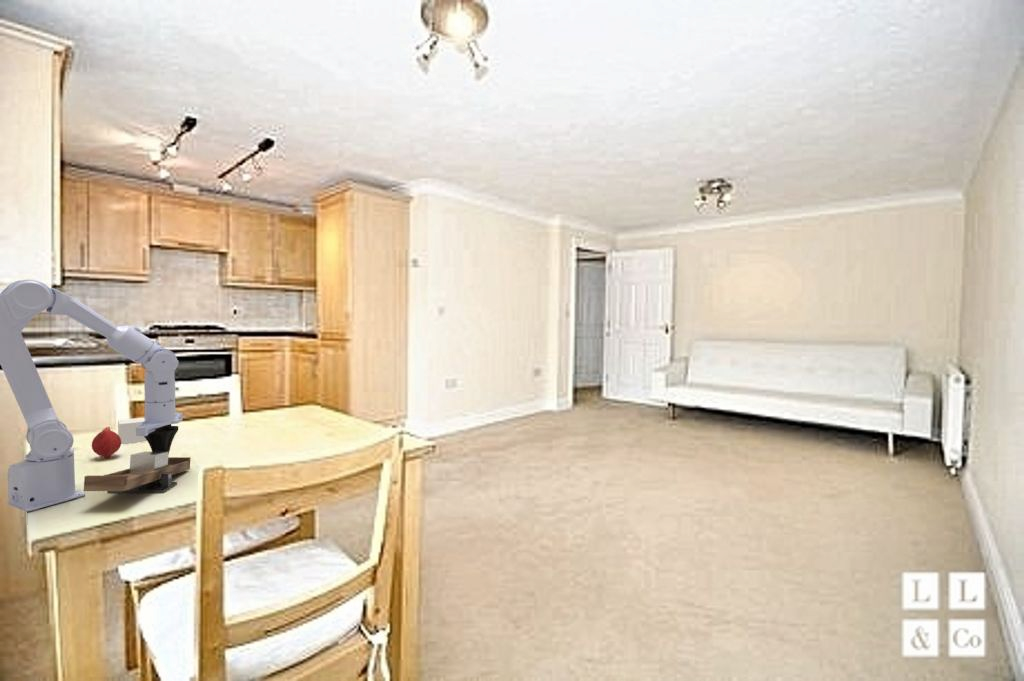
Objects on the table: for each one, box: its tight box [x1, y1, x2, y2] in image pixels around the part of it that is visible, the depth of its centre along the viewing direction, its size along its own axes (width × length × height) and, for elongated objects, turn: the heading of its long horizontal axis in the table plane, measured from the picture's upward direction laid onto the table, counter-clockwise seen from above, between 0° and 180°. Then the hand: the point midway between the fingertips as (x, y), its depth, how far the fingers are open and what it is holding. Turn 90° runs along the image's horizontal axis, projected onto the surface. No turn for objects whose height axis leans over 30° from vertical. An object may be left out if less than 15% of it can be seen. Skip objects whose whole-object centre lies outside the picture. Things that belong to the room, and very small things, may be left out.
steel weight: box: [129, 451, 170, 474], centre depth 111 cm, size 5×5×4 cm
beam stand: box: [106, 472, 178, 494], centre depth 109 cm, size 5×11×4 cm, turn 96°
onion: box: [91, 426, 122, 459], centre depth 128 cm, size 6×6×8 cm
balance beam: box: [83, 456, 192, 492], centre depth 109 cm, size 24×8×3 cm, turn 6°
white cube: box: [117, 416, 148, 445], centre depth 144 cm, size 6×6×6 cm
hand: (161, 459), depth 116 cm, fingers closed
